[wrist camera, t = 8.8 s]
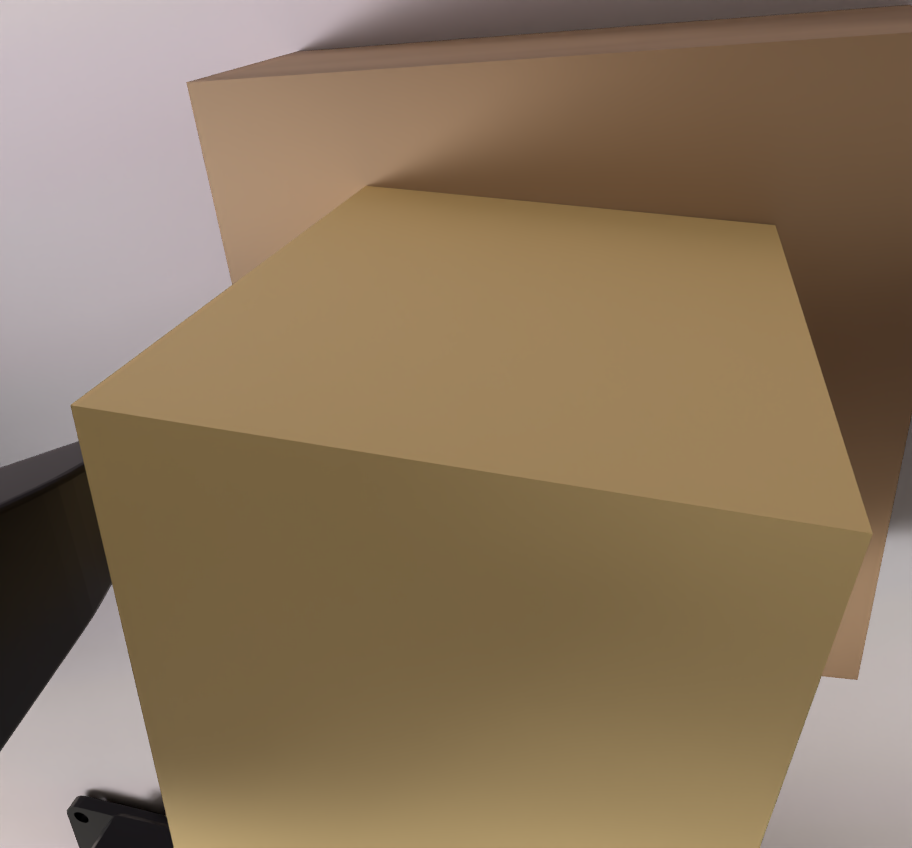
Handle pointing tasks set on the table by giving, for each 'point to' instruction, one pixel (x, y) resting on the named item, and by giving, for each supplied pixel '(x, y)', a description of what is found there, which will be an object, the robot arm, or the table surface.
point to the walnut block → (627, 170)
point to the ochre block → (479, 532)
